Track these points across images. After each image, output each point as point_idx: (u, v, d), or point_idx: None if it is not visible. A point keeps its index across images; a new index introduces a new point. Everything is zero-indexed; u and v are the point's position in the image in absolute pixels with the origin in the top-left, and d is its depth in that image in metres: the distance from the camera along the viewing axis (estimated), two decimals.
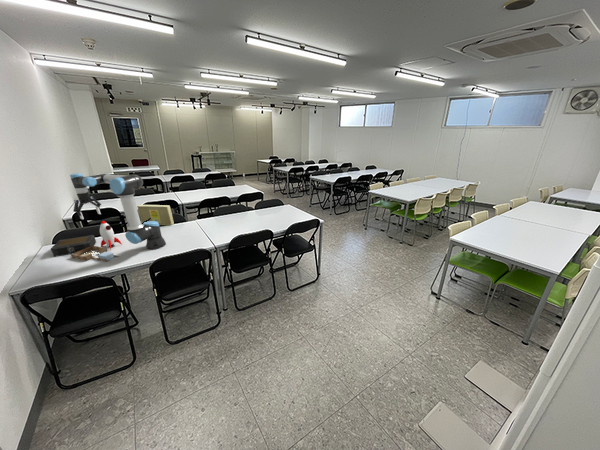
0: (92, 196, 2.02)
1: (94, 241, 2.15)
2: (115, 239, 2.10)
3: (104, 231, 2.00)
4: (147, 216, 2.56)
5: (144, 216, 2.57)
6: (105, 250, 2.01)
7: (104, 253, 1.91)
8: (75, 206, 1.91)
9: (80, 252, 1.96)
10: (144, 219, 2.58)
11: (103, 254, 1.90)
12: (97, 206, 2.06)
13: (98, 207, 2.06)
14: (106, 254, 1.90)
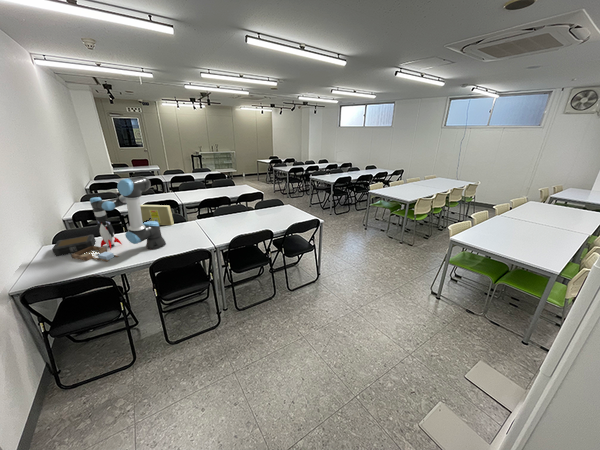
0: (107, 222, 1.99)
1: (94, 240, 2.16)
2: (115, 239, 2.10)
3: (104, 231, 2.00)
4: (147, 216, 2.56)
5: (144, 216, 2.57)
6: (105, 250, 2.01)
7: (104, 253, 1.91)
8: None
9: (80, 252, 1.96)
10: (144, 219, 2.58)
11: (103, 254, 1.90)
12: None
13: (109, 234, 2.03)
14: (106, 254, 1.90)
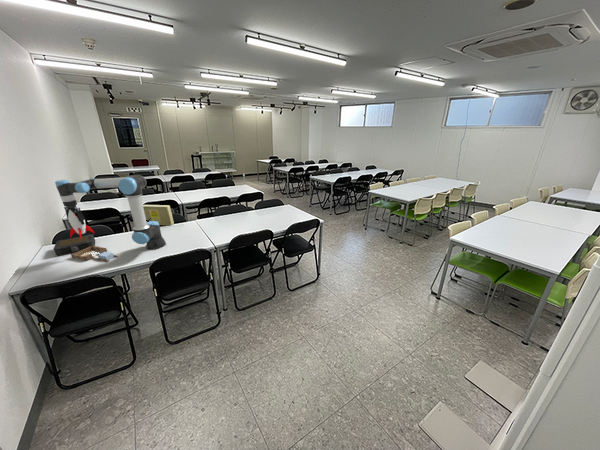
0: (76, 208, 1.79)
1: (94, 240, 2.17)
2: (86, 227, 1.90)
3: (72, 217, 1.80)
4: (147, 216, 2.56)
5: None
6: (105, 250, 2.01)
7: (104, 253, 1.91)
8: None
9: (80, 252, 1.96)
10: None
11: (103, 254, 1.90)
12: None
13: (79, 221, 1.83)
14: (106, 254, 1.90)
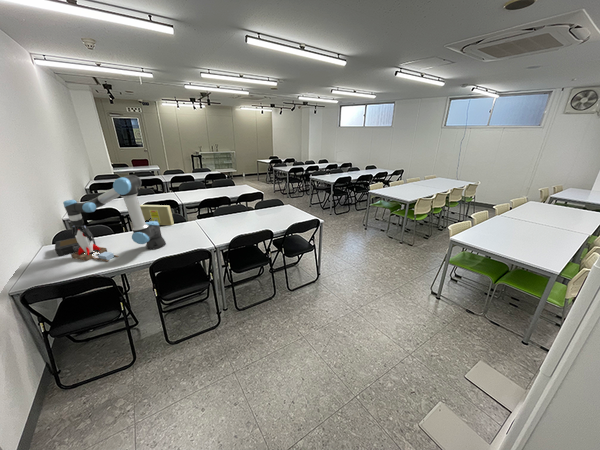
0: (83, 226, 1.85)
1: (94, 240, 2.18)
2: (94, 246, 1.96)
3: (81, 238, 1.87)
4: (147, 216, 2.56)
5: (144, 216, 2.56)
6: (105, 250, 2.01)
7: (104, 253, 1.91)
8: None
9: None
10: None
11: (103, 254, 1.90)
12: None
13: (87, 238, 1.88)
14: (106, 254, 1.90)
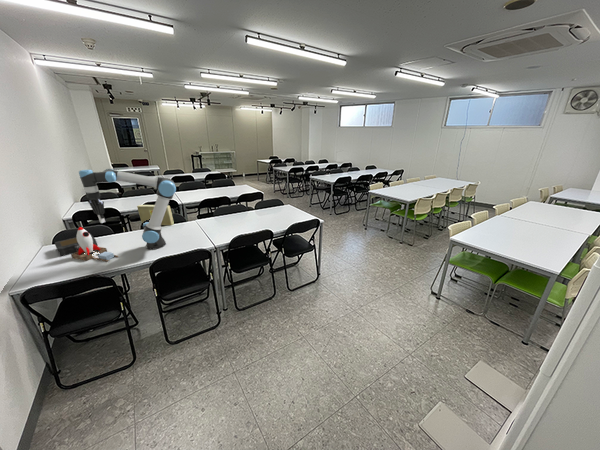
0: (100, 202, 1.69)
1: None
2: (94, 246, 1.96)
3: (81, 238, 1.87)
4: (147, 216, 2.56)
5: (144, 216, 2.56)
6: (105, 250, 2.01)
7: (104, 253, 1.91)
8: None
9: None
10: (144, 219, 2.58)
11: (103, 254, 1.90)
12: None
13: (98, 215, 1.73)
14: (106, 254, 1.90)
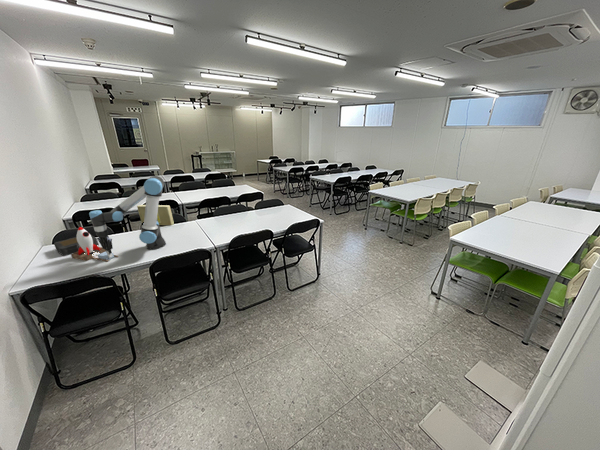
0: (108, 239, 1.81)
1: None
2: (94, 246, 1.96)
3: (81, 238, 1.87)
4: None
5: (144, 216, 2.56)
6: (105, 250, 2.01)
7: (104, 253, 1.91)
8: None
9: None
10: (143, 219, 2.58)
11: (103, 254, 1.90)
12: None
13: (107, 251, 1.86)
14: (105, 254, 1.90)
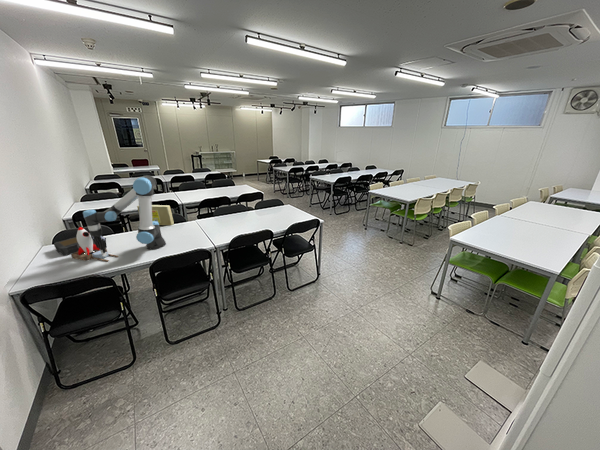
0: (102, 238, 1.83)
1: None
2: (94, 246, 1.96)
3: (81, 238, 1.87)
4: None
5: None
6: None
7: (98, 252, 1.93)
8: None
9: None
10: None
11: (97, 253, 1.92)
12: None
13: (101, 250, 1.88)
14: (100, 253, 1.92)
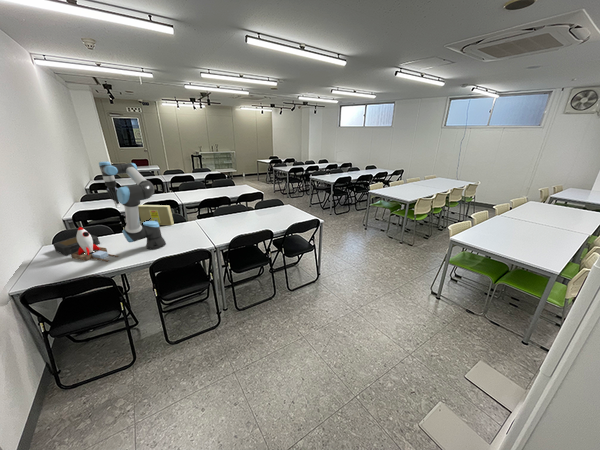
0: (116, 189, 1.97)
1: None
2: (94, 246, 1.96)
3: (81, 238, 1.87)
4: (147, 216, 2.56)
5: (144, 216, 2.56)
6: (105, 250, 2.01)
7: (98, 252, 1.93)
8: None
9: None
10: (143, 219, 2.58)
11: (97, 253, 1.92)
12: None
13: (115, 201, 2.02)
14: (100, 253, 1.92)
